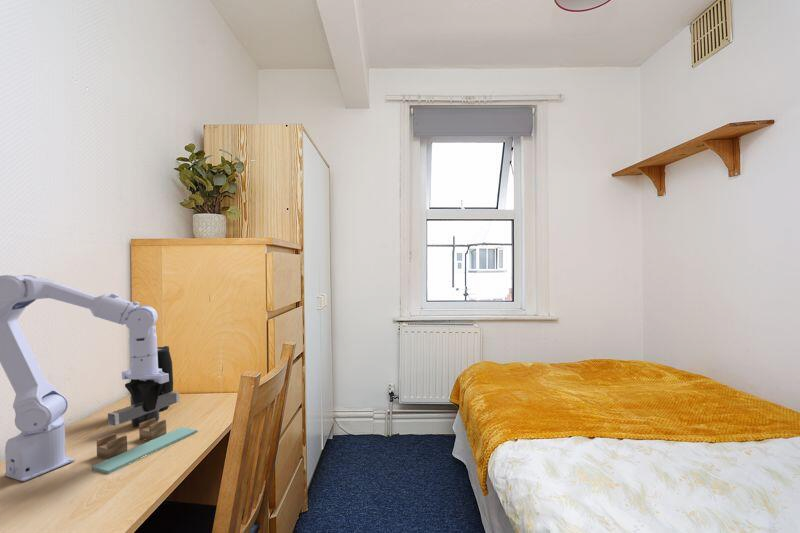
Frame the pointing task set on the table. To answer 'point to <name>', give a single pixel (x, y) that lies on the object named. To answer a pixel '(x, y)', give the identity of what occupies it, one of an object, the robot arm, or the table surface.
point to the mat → (143, 450)
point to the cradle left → (111, 446)
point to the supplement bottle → (144, 416)
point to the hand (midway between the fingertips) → (146, 409)
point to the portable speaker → (165, 370)
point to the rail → (141, 409)
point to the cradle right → (152, 429)
